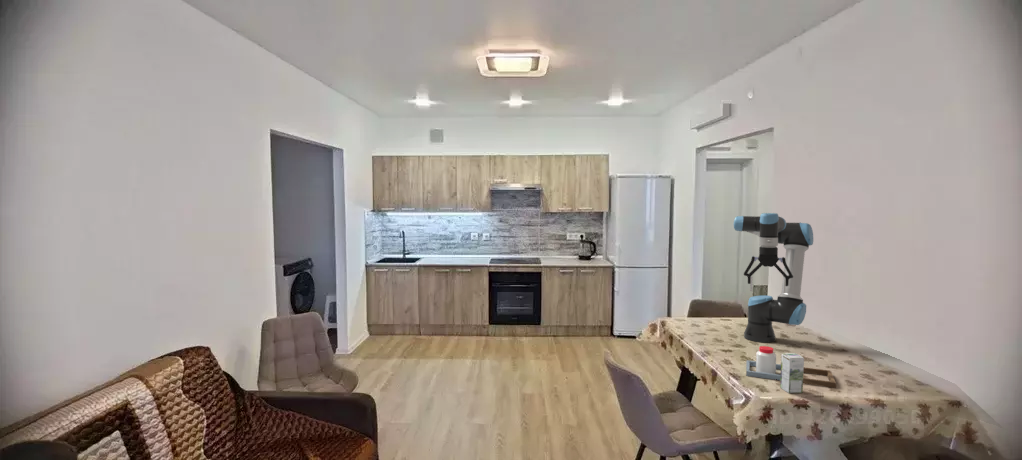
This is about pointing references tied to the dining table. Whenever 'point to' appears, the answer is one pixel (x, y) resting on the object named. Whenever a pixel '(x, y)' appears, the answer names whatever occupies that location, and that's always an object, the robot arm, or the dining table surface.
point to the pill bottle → (766, 360)
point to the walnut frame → (819, 382)
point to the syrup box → (792, 372)
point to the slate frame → (761, 374)
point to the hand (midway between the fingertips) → (767, 291)
